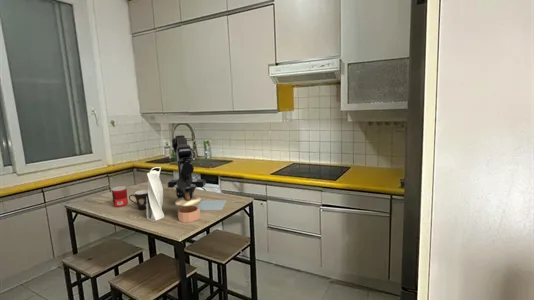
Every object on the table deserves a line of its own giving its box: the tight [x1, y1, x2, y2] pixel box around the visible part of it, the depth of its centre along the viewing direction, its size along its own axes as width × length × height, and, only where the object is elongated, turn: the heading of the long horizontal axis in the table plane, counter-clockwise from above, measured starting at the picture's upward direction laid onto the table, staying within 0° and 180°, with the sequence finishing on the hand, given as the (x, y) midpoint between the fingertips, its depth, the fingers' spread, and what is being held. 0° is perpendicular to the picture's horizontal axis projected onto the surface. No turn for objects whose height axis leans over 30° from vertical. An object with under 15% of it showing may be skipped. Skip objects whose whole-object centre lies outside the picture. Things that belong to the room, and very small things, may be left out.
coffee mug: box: [128, 189, 151, 211], centre depth 173 cm, size 12×9×10 cm
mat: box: [197, 199, 228, 211], centre depth 174 cm, size 16×16×1 cm
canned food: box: [111, 185, 129, 208], centre depth 179 cm, size 8×8×11 cm
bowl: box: [177, 205, 201, 224], centre depth 156 cm, size 11×11×5 cm
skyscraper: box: [145, 166, 165, 223], centre depth 156 cm, size 8×8×28 cm
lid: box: [174, 192, 202, 207], centre depth 154 cm, size 13×13×5 cm
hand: (188, 199), depth 155 cm, fingers closed on lid, 3 cm apart
